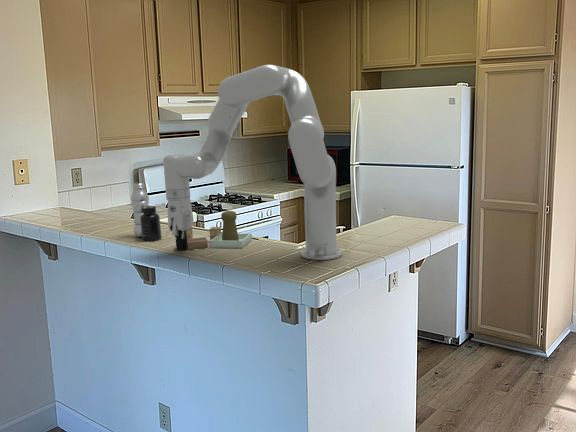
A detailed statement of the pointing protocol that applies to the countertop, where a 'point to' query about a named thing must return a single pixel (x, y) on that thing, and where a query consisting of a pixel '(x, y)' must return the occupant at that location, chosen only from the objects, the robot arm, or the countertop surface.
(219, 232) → the bench dogs
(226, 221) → the cork
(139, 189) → the plastic bottle
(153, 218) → the supplement bottle
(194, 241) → the wooden block
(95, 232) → the countertop surface
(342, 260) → the countertop surface
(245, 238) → the tray
